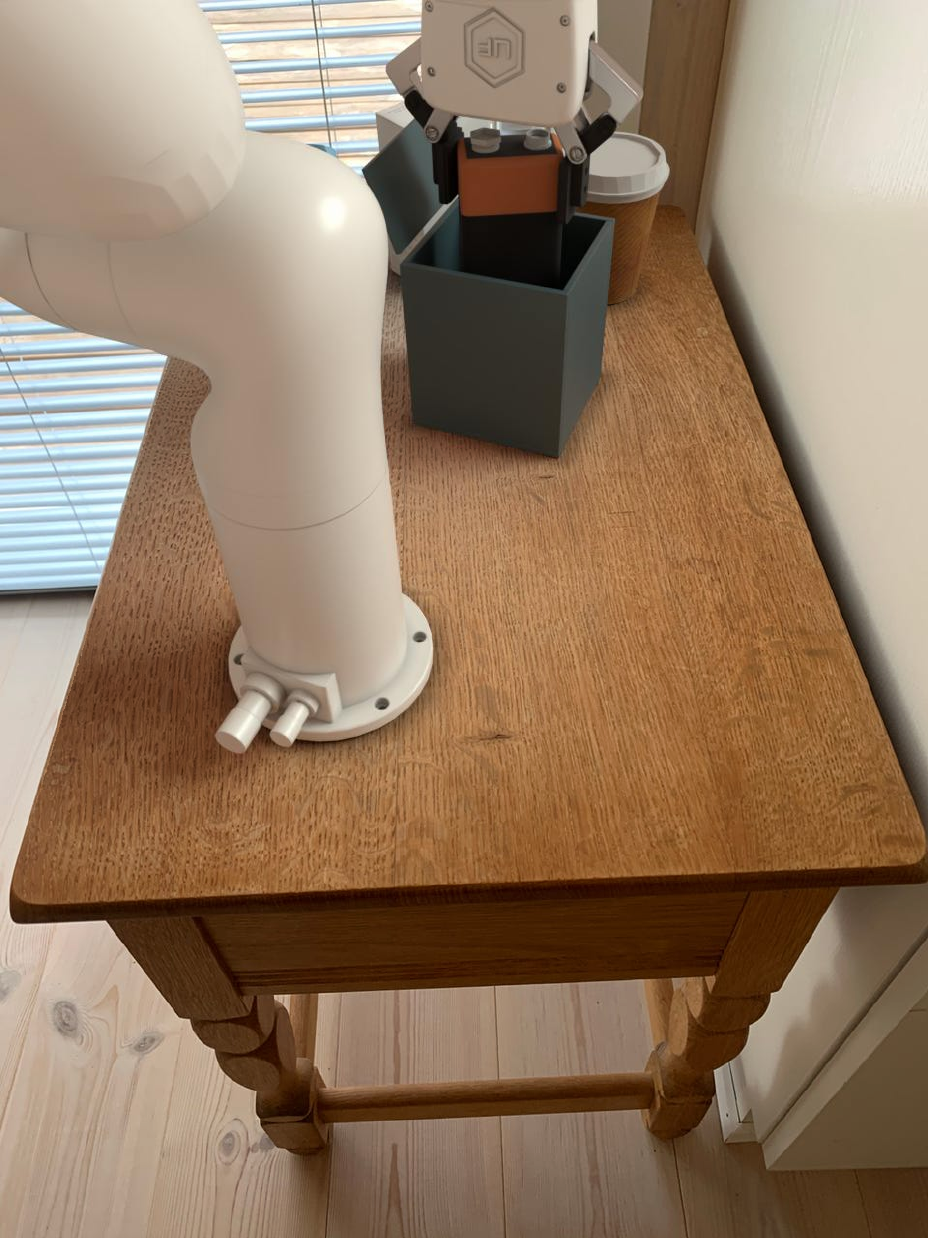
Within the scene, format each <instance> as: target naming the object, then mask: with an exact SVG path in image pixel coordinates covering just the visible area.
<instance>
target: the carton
mask: <svg viewBox="0 0 928 1238" xmlns="http://www.w3.org/2000/svg"><path fill="white" fill-rule="evenodd" d="M614 224H615V218H609V217H603V216H597V215H590V214H584V213H578V212H575V213H574V215H573V216H572V218H571V219H570V221H569V222H568V224H562V241H561V261H560V279H559V283H558V285H556V286H554V287H540V286H535V285H529V284H524V283H518V282H513V281H508V280H502V279H497V278H491V277H486V276H480V275H475V274H469V273H464V272H462V270H461V262H460V234H459V201H458V197H457V198H456V199H455V201H454V202H453V203H452V204H451V205H450V206H449V208H448V209H447V210H446V211H445V212H444V213H443V215H442V216H441V217H440V218H439V219H438V220H437V222H436V223H435V224H434V225H433V226H432V227H431V229H430V230H429V231H428V232H427V233H426V234H425V236H424V237H423V238H422V239H421V240H420V241H419V243H418V244H417V245H416V246H415V247H414V249H413V250H412V251H411V252H410V253H409V254H408V256H407V257H406V258H405V259H404V260H403V262H402V263H401V264H400V274H401V276H400V285H401V297H402V298H401V299H402V309H403V321H404V322H403V323H404V334H405V345H406V358H407V369H408V381H409V393H410V394H409V395H410V405H411V417H412V418H411V419H412V425H413V426H416V427H417V426H418V427H421V428H426V429H430V430H435V431H438V432H439V431H440V432H444V433H447V434H453V435H457V436H461V437H466V438H470V439H474V440H478V441H483V442H488V443H491V444H496V445H500V446H504V447H509V448H514V449H518V450H522V451H526V452H530V453H535V454H539V455H544V456H547V457H548V456H549V457H553V458H556V459H559V458H560V456H561V454H562V452H563V451H564V449H565V446H566V445H567V443H568V440H569V439H570V437H571V435H572V433H573V431H574V429H575V427H576V425H577V424H578V421H579V419H580V418H581V416H582V414H583V412H584V411H585V408H586V406H587V404H588V403H589V401H590V399H591V396H592V395H593V393H594V391H595V389H596V387H597V385H598V383H599V381H600V380H601V377H602V367H603V357H604V344H605V334H606V322H607V311H608V304H607V302H608V291H609V279H610V268H611V257H612V246H613V235H614Z"/></svg>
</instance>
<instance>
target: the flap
mask: <svg viewBox="0 0 928 1238" xmlns="http://www.w3.org/2000/svg"><path fill="white" fill-rule="evenodd" d="M361 174H362V176H363V178H364V181H365V182H366V183H367V185H368V186H369V188H370V189H371V190H372V192H373V193H374V195H375V197H376V199H377V201H378V203H379V205H380V208H381V210H382V213H383V216H384V220H385V223H386V229H387V237H388V236H389V238H390V241H391V243H392V246H393V248H394V251H395V253H396V255H399V254H401V253H402V252H403V251H404V250H405V249H406V247H407V246H408V245H409V244H410V243H411V242H412V241H413V239H414V238H415V237H416V236H417V235H418V234H419V232H420V231H421V230H422V229H423V228H424V227H425V226H426V224H427V223H428V222H429V221H430V220H431V219H432V217H433V216H434V215H435V214H436V213H437V212H438V210H439V209H440V208H441V207H442V206H443V205H444V204H440V203H439V192H438V185H436V184H434V180H433V162H432V143H430V142H428V141H427V140H426V138H425V137H424V129H423V128H422V127H421V125H420V124H419V123H418V122H417V121H416V119H415V118H414V119H413V120H412V121H411V122H410V123H409V124H408V125H407V126H406V127H405V128H404V129H403V130H402V131H401V132H400V133H399V134H398V135H397V136H396V137H394V138H393V139H392V140H391V141H390V142H389V143H388V144H387V145H386V146H385V147H384V148H383V149H382V150H381V151H380V152H379V151H378V153H377V154H376V155H375V156H374V157H372V159H371V160H370V161H369V162H367V163H366V164H365V166H364V167H362V168H361Z"/></svg>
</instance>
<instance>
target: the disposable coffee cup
mask: <svg viewBox="0 0 928 1238" xmlns="http://www.w3.org/2000/svg"><path fill="white" fill-rule="evenodd" d="M561 148H562V152H563V155H564V157H565V150H564V148H563V147H561ZM666 156H667V155H666V151H665V149H664V148H663V146H662V145H661V144H660V143H658V142H657V141H655V140H654V139H651V138H649V137H647V136H643V135H640V134H638V133H631V132H625V131H615V132H614V133H613V135H612V136H611V137H610V138H609V139H608V140H607V141H605V142H604V143H603V144H602V145H601V146H600V147H598V148H597V149H596V150H595V151H594V152H593V153H591V154H590V169H589V184H588V195H587V200H586V202H585V204H584V206H583V207H578V209H577V210H576V212H578V213H584V214H590V215H597V216H603V217H609V218H615V224H614V235H613V246H612V257H611V268H610V279H609V291H608V302H607V305H613V304H619V303H622V302H624V301H627V300H629V299H631V297H633V295H634V294H635V293H636V291H637V286H638V283H639V278H640V276H641V275H640V274H641V271H642V267H643V263H644V259H645V255H646V252H647V246H648V243H649V240H650V239H649V238H650V234H651V230H652V227H653V223H654V218H655V215H656V211H657V206H658V202H659V199H660V195H661V191H662V189H663V187H664V186H665V183H666V182H667V181H668V178H669V176H670V166H669V164H668V163H667V157H666Z"/></svg>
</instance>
